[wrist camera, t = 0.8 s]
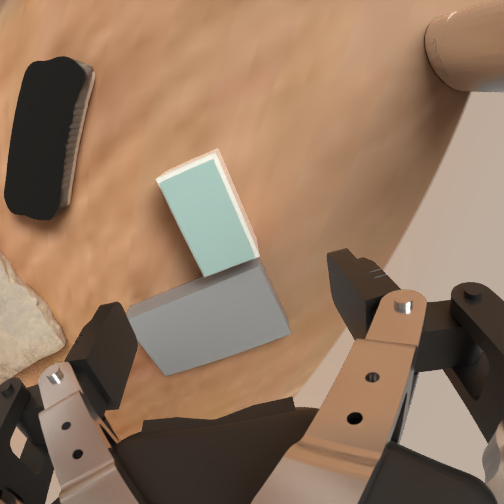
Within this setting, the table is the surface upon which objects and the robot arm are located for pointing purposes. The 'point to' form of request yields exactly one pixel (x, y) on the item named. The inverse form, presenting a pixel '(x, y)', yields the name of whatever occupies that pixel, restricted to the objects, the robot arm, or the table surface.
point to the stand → (209, 318)
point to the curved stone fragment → (24, 324)
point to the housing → (209, 213)
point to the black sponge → (47, 137)
